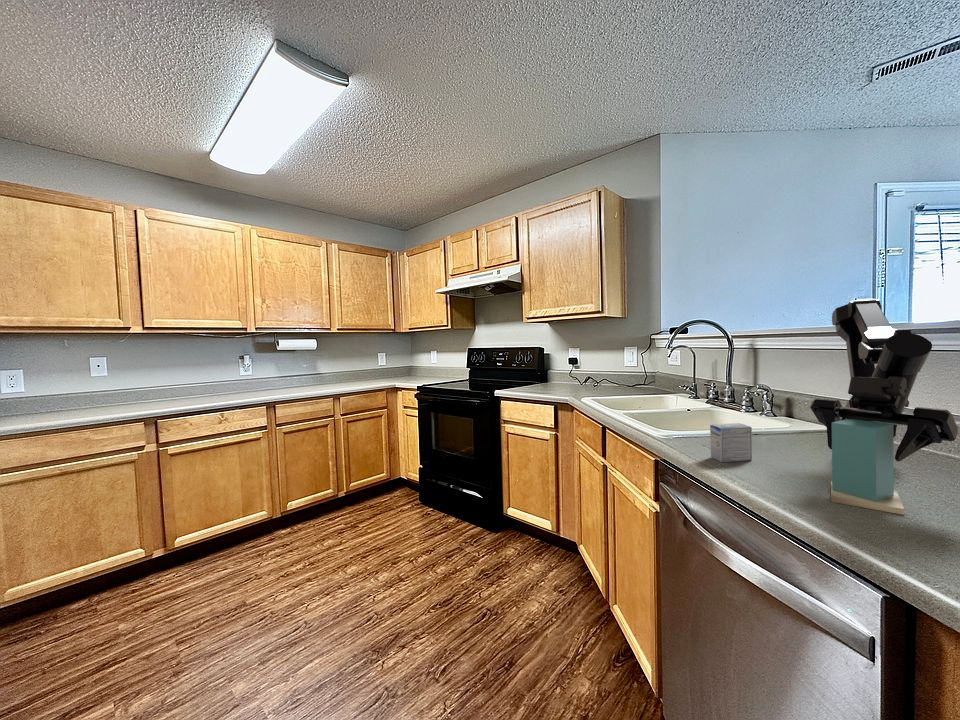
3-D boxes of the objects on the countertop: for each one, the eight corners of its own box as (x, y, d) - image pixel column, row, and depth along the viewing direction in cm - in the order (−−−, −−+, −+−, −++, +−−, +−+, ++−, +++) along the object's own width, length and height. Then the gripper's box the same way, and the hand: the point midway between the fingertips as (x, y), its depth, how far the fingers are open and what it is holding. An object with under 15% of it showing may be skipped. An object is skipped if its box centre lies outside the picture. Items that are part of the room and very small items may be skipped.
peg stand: (830, 485, 77) (830, 463, 77) (896, 495, 71) (896, 471, 71) (831, 501, 70) (831, 477, 70) (904, 514, 64) (904, 488, 64)
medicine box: (740, 455, 99) (739, 422, 98) (752, 461, 94) (752, 426, 94) (710, 457, 98) (709, 424, 98) (721, 462, 94) (720, 428, 94)
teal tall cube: (849, 484, 75) (849, 418, 74) (893, 495, 69) (893, 424, 69) (832, 490, 72) (831, 422, 72) (876, 502, 67) (875, 428, 66)
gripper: (814, 360, 80) (784, 418, 76) (951, 361, 63) (923, 437, 59) (834, 393, 83) (807, 451, 79) (968, 404, 67) (943, 478, 62)
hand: (861, 453), depth 70 cm, fingers open, 9 cm apart
